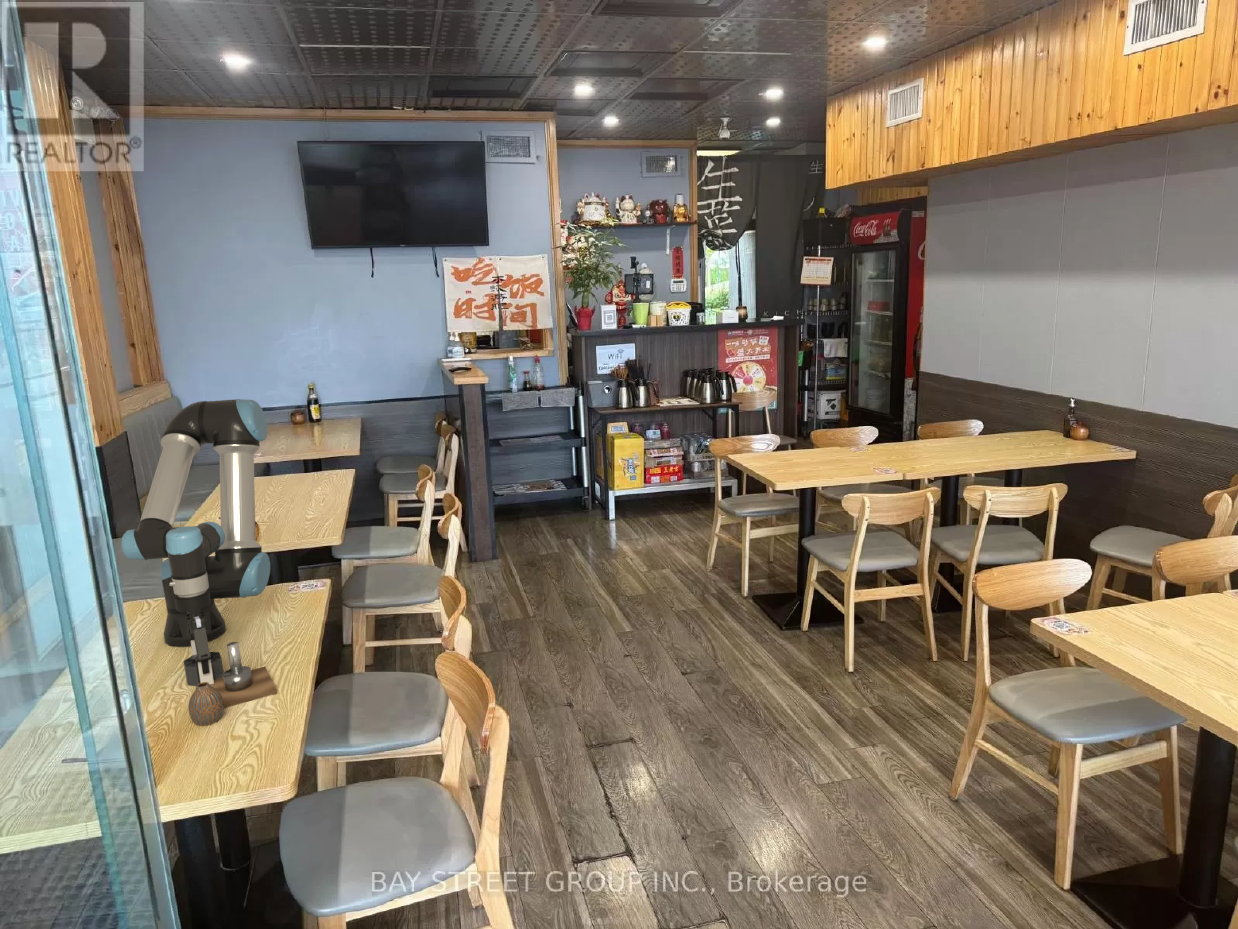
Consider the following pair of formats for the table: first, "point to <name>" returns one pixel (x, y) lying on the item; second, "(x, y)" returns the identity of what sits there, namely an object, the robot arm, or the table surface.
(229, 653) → the shaft
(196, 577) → the robot arm
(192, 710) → the vase
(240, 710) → the table surface
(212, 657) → the ring
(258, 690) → the base board
